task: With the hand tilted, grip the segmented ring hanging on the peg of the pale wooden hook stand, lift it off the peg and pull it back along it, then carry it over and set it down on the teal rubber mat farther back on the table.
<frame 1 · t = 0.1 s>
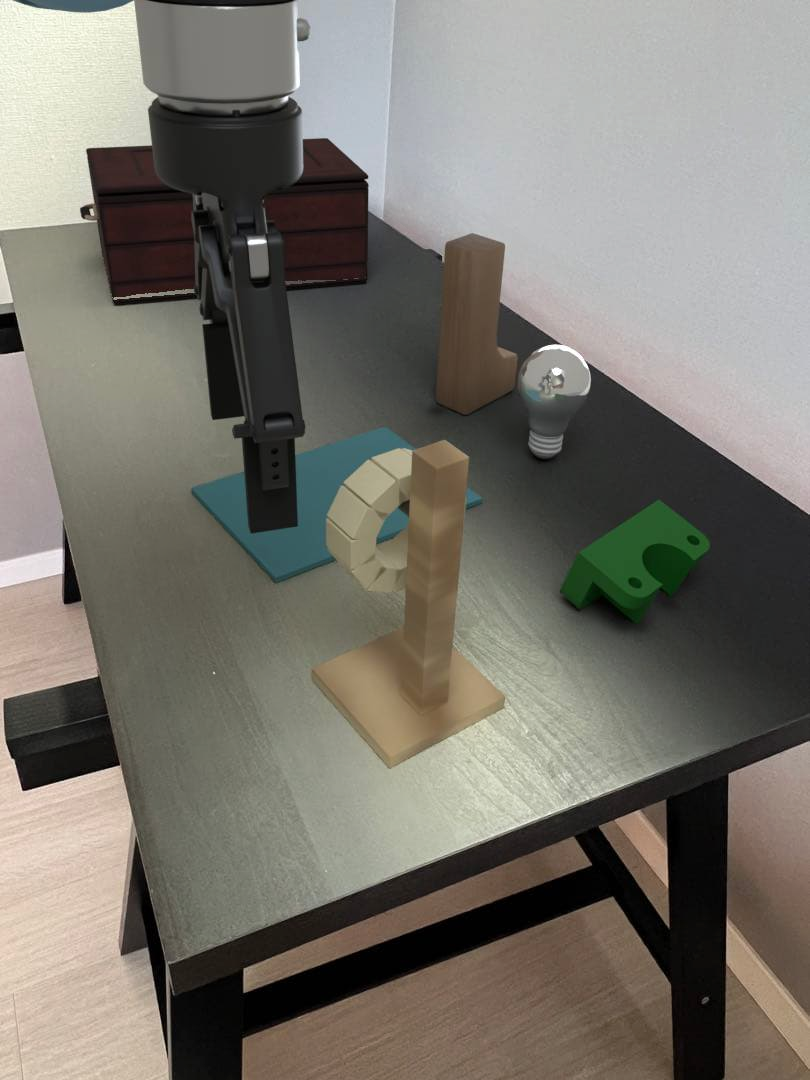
hand: (250, 466, 59), 18 cm above the table, tool pointing down, fingers open, 13 cm apart
light bulb: (542, 459, 96), on the table
mat: (337, 498, 88), on the table
storage box: (233, 272, 134), on the table
hook stand: (390, 677, 70), on the table
wooden block: (475, 398, 106), on the table
clamp: (630, 596, 79), on the table
segmented ring: (394, 576, 64), point 9 cm above the table, touching hook stand
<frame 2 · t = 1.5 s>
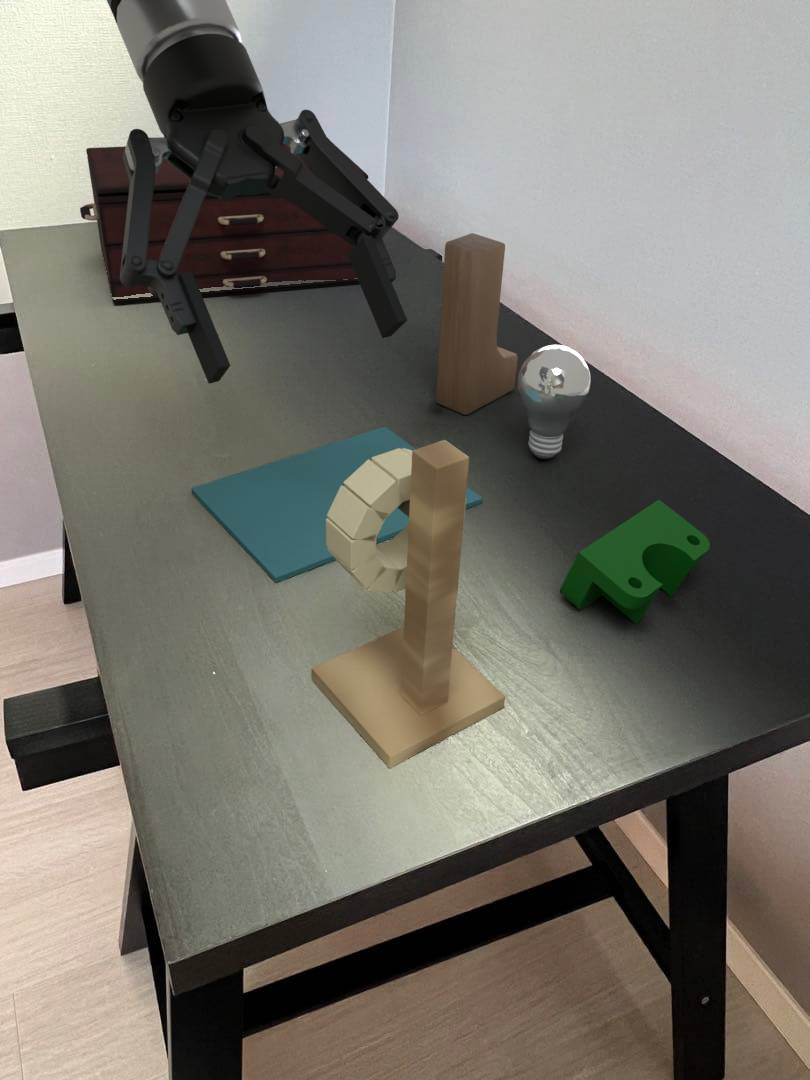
hand: (311, 351, 63), 22 cm above the table, tool tilted 45°, fingers open, 13 cm apart
nothing on the table moved.
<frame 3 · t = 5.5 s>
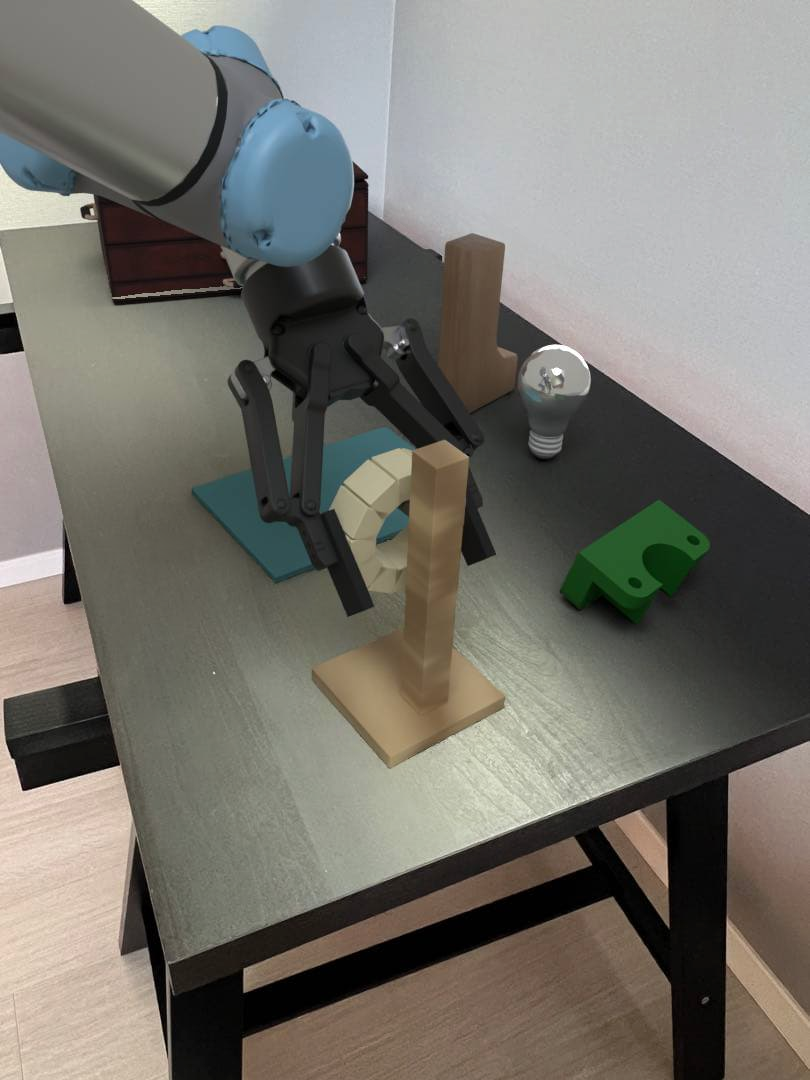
hand: (423, 585, 61), 11 cm above the table, tool tilted 45°, fingers closed on segmented ring, 9 cm apart
segmented ring: (394, 576, 64), point 9 cm above the table, touching gripper, hook stand
everything else where it was.
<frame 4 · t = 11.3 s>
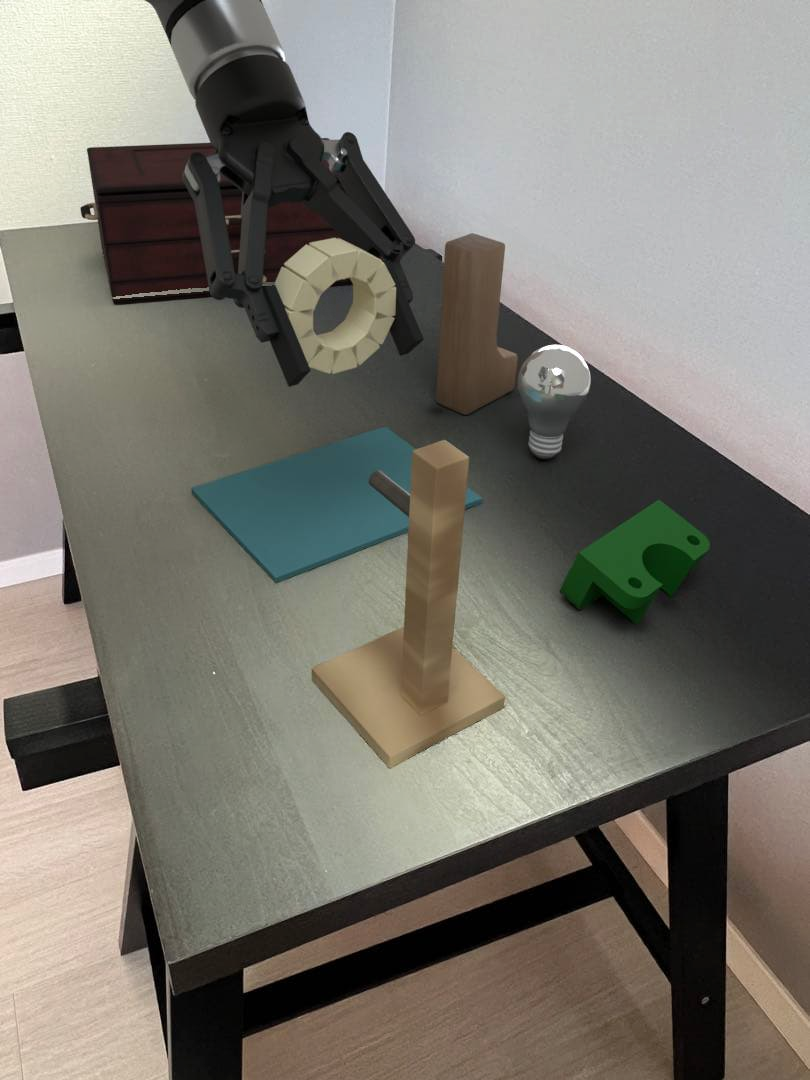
hand: (357, 362, 69), 19 cm above the table, tool tilted 45°, fingers closed on segmented ring, 9 cm apart
segmented ring: (334, 363, 72), point 18 cm above the table, touching gripper
everything else where it was.
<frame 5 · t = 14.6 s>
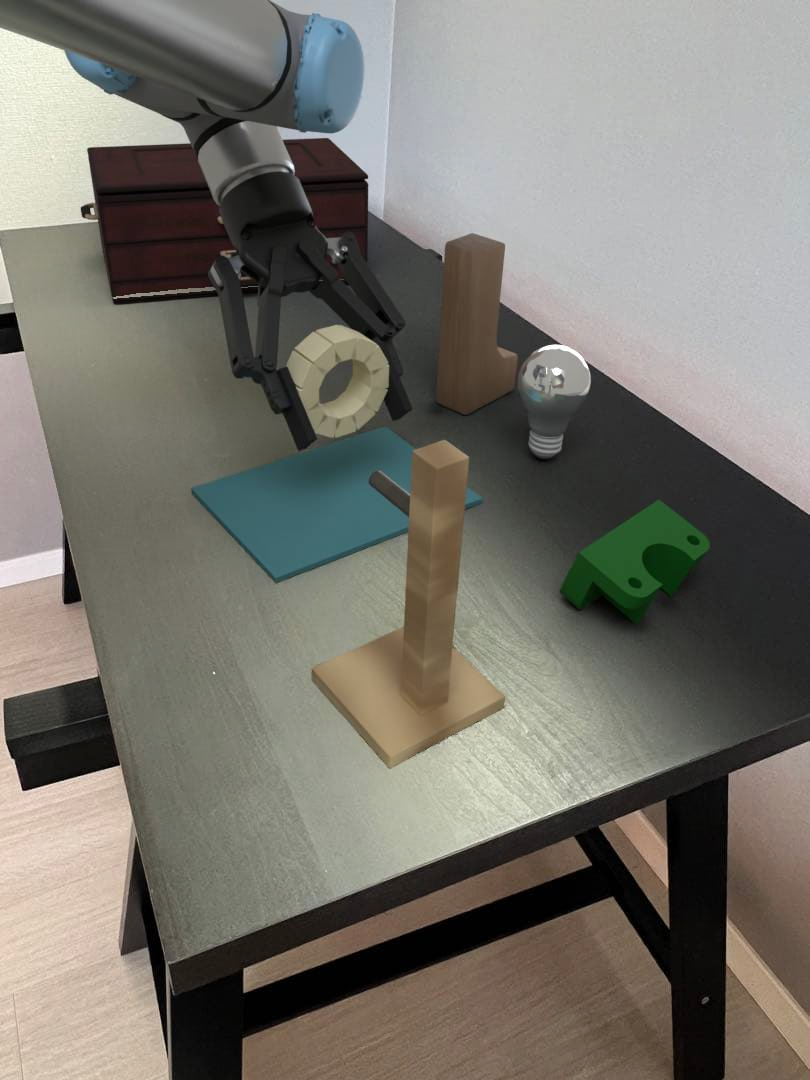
hand: (356, 429, 81), 9 cm above the table, tool tilted 45°, fingers closed on segmented ring, 9 cm apart
segmented ring: (336, 427, 84), point 7 cm above the table, touching gripper
everything else where it was.
when the fingers open (2 cm above the table, at t = 17.1 s): segmented ring stays where it is, resting on mat.
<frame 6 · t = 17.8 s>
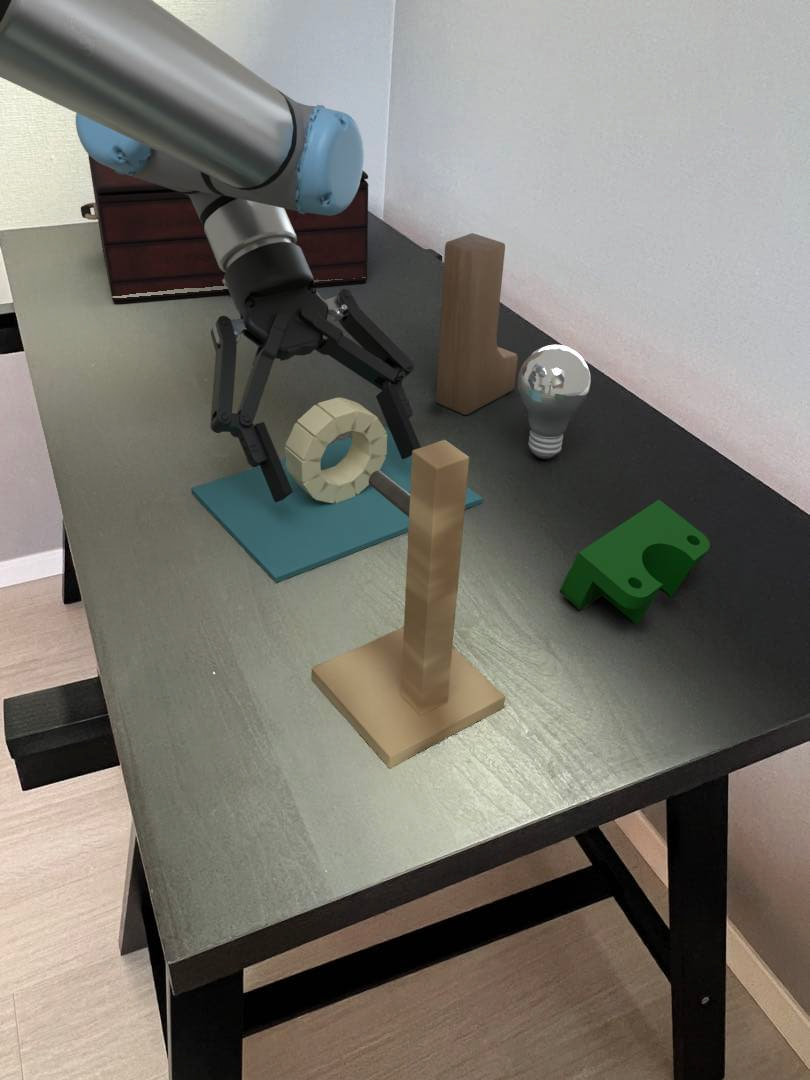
hand: (350, 475, 85), 4 cm above the table, tool tilted 45°, fingers open, 13 cm apart
segmented ring: (337, 492, 88), point 1 cm above the table, touching mat
everything else where it was.
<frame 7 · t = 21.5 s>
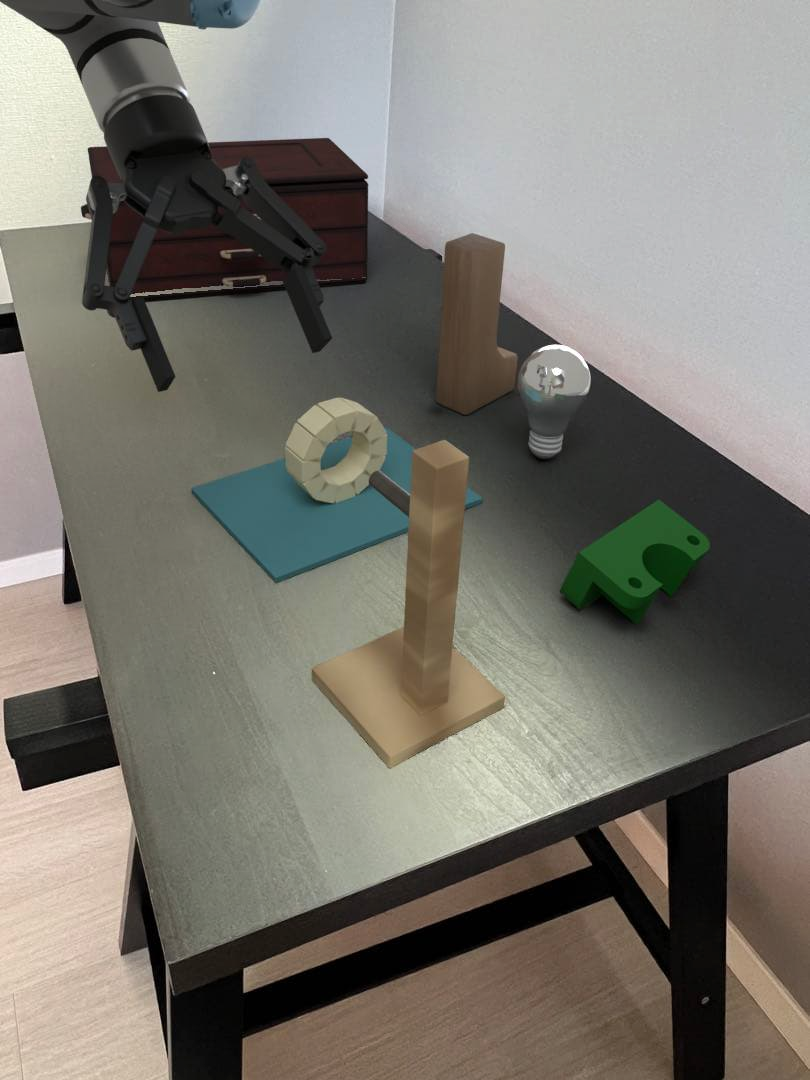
hand: (248, 364, 74), 16 cm above the table, tool tilted 45°, fingers open, 13 cm apart
nothing on the table moved.
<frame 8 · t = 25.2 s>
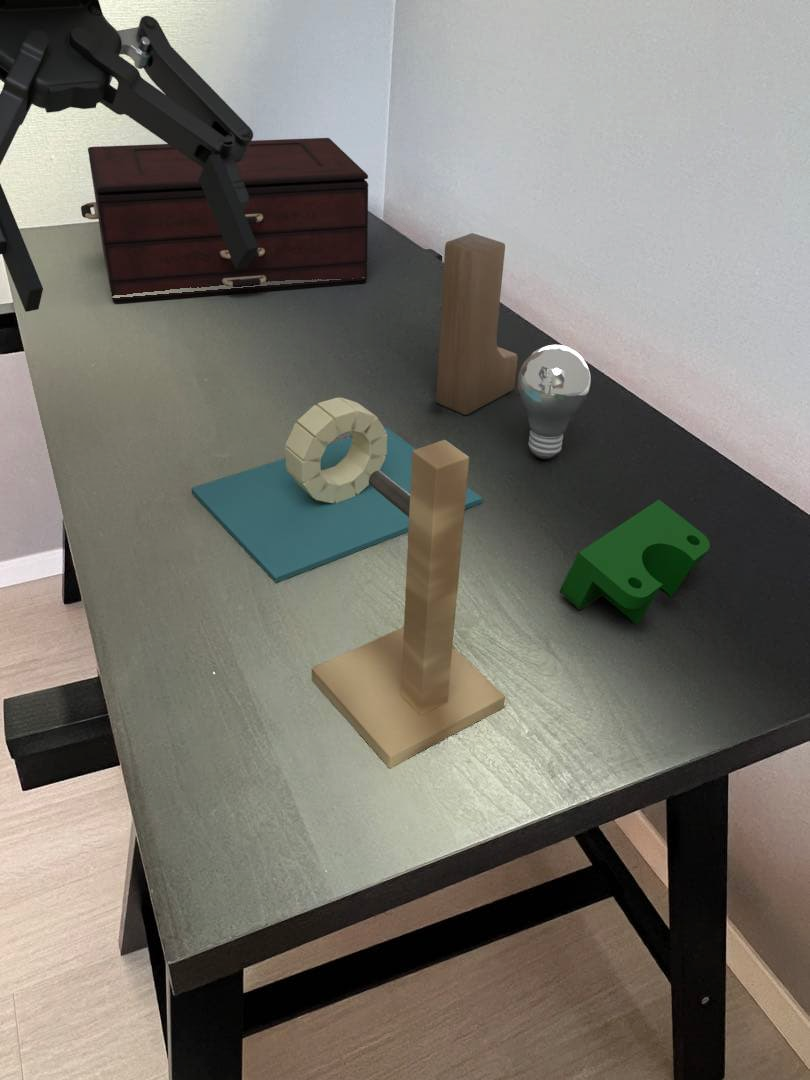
hand: (147, 279, 57), 28 cm above the table, tool tilted 45°, fingers open, 13 cm apart
nothing on the table moved.
at the end: segmented ring inside the target area on the mat (0.0 cm from its centre), point 0.6 cm above the mat's base; segmented ring touching mat; the gripper is holding nothing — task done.
